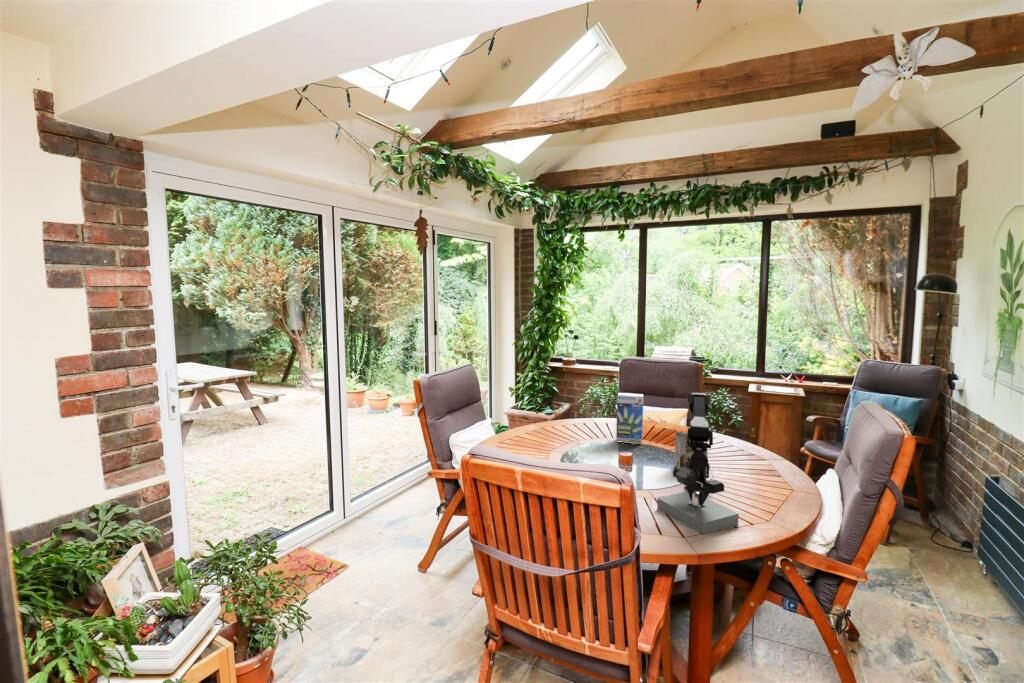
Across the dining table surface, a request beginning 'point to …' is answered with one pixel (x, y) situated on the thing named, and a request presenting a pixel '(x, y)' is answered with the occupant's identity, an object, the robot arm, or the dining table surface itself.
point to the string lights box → (629, 417)
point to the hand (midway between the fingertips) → (696, 502)
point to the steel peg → (695, 500)
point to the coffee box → (681, 449)
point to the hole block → (698, 513)
